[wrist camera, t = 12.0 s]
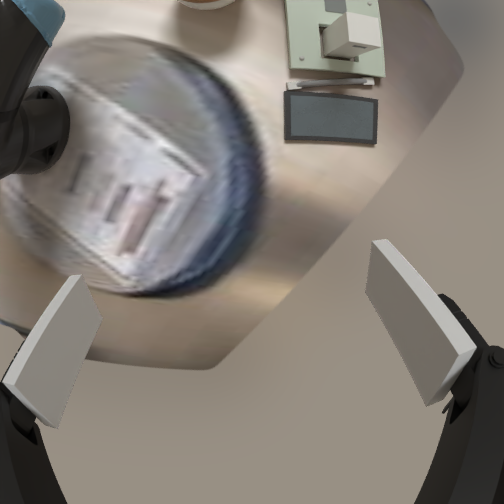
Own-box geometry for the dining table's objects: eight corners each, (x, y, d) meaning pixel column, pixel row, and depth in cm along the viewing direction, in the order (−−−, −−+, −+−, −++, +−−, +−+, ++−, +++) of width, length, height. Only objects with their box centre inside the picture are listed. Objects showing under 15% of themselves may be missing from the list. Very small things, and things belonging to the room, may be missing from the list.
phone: (283, 138, 38) (285, 139, 36) (283, 91, 34) (284, 91, 33) (373, 143, 38) (376, 144, 37) (374, 99, 35) (378, 99, 33)
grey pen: (287, 90, 34) (288, 89, 33) (286, 82, 33) (287, 82, 32) (372, 84, 33) (375, 84, 32) (371, 77, 32) (373, 77, 32)
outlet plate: (289, 69, 32) (291, 67, 31) (283, -12, 26) (284, -16, 24) (380, 77, 32) (385, 77, 31) (373, 0, 26) (377, -2, 24)
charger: (324, 56, 31) (349, 41, 22) (322, 31, 29) (346, 11, 20) (350, 59, 31) (381, 47, 22) (348, 34, 29) (378, 18, 20)
